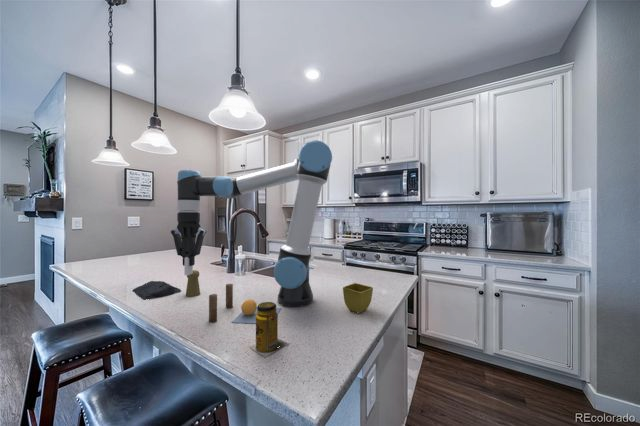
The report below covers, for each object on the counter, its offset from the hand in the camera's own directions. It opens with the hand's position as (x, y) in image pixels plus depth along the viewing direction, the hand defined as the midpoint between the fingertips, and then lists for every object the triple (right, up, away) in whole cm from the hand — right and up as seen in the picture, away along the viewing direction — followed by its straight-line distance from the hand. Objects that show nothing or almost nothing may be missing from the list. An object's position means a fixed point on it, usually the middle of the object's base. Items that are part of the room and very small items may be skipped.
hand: (188, 274), depth 93 cm
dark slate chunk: (-28, -15, +24) cm, 40 cm away
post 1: (+12, -15, -7) cm, 20 cm away
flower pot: (+64, -15, +3) cm, 66 cm away
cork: (-9, -15, +20) cm, 26 cm away
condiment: (+35, -15, -23) cm, 45 cm away
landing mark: (+27, -15, -2) cm, 31 cm away
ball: (+23, -12, -2) cm, 26 cm away
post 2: (+13, -15, +5) cm, 20 cm away
